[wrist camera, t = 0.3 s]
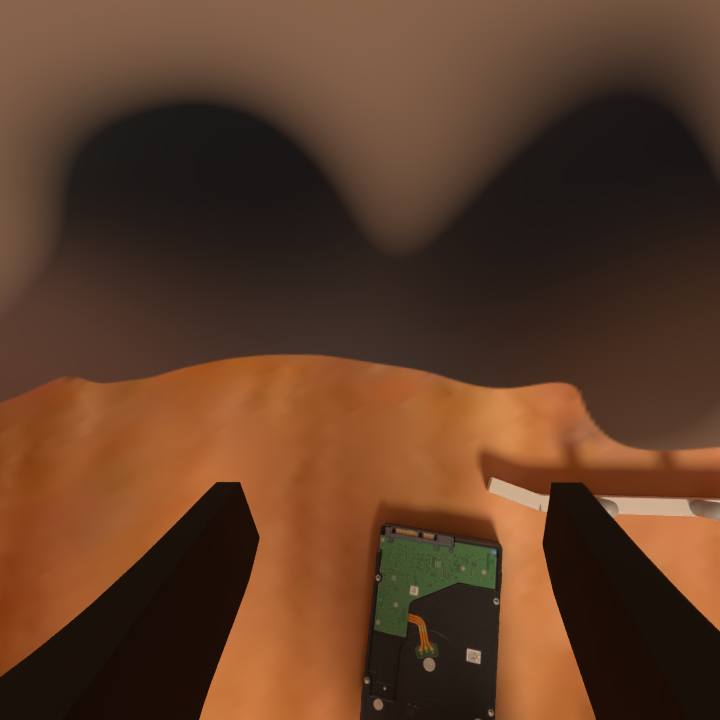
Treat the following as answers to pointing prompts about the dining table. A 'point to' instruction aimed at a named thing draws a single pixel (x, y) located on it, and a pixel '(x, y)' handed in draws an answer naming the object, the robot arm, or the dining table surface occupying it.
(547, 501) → the drive tray
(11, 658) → the dining table surface
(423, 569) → the disk drive
